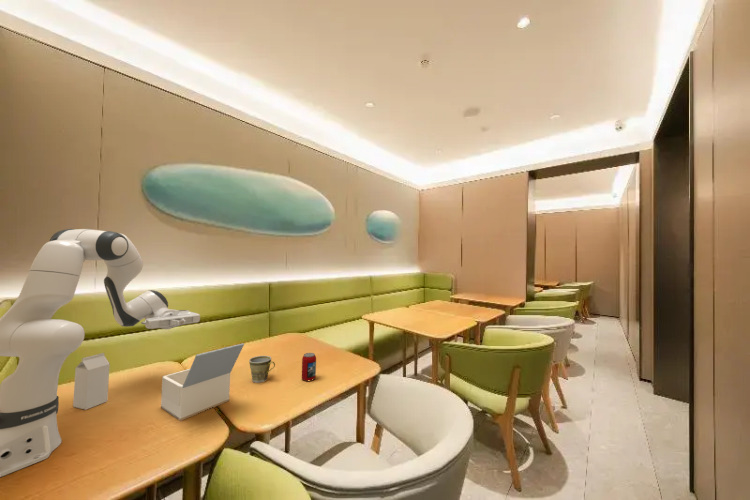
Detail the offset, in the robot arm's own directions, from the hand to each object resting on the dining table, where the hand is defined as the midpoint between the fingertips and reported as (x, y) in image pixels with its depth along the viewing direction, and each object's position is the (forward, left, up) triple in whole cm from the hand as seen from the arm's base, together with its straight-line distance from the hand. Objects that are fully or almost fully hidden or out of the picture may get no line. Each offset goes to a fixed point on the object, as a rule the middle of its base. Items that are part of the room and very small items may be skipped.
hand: (181, 322), depth 123 cm
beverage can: (+33, -44, -31) cm, 63 cm away
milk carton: (-18, +23, -31) cm, 42 cm away
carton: (-4, -15, -30) cm, 34 cm away
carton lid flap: (-7, -26, -12) cm, 30 cm away
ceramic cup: (+24, -24, -31) cm, 46 cm away
